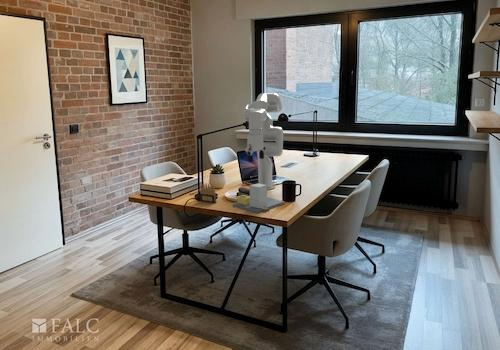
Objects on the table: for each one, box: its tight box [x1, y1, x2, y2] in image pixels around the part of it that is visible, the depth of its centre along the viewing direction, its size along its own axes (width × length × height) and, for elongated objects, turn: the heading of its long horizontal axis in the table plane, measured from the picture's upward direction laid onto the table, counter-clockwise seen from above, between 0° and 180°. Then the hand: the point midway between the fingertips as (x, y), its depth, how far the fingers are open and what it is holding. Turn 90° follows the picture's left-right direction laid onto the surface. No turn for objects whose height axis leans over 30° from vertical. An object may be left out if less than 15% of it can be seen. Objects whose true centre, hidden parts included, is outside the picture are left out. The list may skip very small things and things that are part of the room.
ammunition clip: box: [199, 182, 217, 204], centre depth 268 cm, size 11×2×12 cm, turn 64°
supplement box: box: [249, 182, 268, 208], centre depth 252 cm, size 7×7×13 cm
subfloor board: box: [232, 196, 285, 214], centre depth 261 cm, size 24×25×2 cm
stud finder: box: [236, 194, 250, 205], centre depth 259 cm, size 5×7×4 cm
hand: (256, 160), depth 260 cm, fingers open, 9 cm apart
